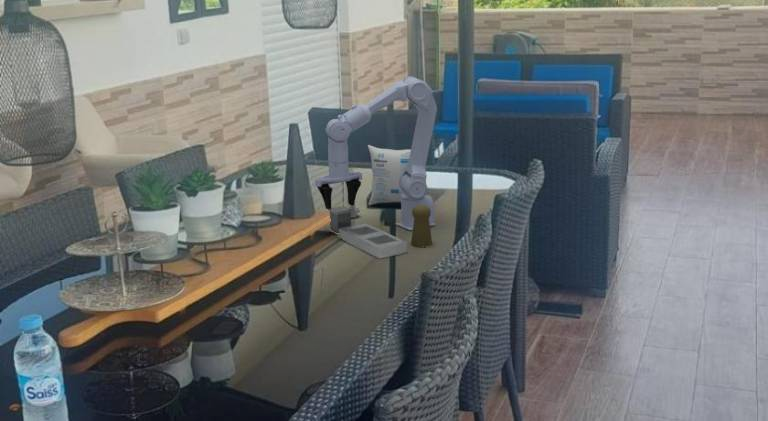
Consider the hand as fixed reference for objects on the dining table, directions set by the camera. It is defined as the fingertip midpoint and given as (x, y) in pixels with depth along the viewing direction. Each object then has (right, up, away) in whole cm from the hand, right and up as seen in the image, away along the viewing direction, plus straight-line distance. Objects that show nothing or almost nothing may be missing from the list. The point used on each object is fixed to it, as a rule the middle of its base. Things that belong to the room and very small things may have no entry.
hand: (339, 206), depth 265 cm
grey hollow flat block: (+10, -11, -10) cm, 18 cm away
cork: (+23, -11, -10) cm, 28 cm away
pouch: (+17, 0, +28) cm, 33 cm away
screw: (+3, -3, +18) cm, 18 cm away
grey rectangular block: (0, -8, +2) cm, 8 cm away
